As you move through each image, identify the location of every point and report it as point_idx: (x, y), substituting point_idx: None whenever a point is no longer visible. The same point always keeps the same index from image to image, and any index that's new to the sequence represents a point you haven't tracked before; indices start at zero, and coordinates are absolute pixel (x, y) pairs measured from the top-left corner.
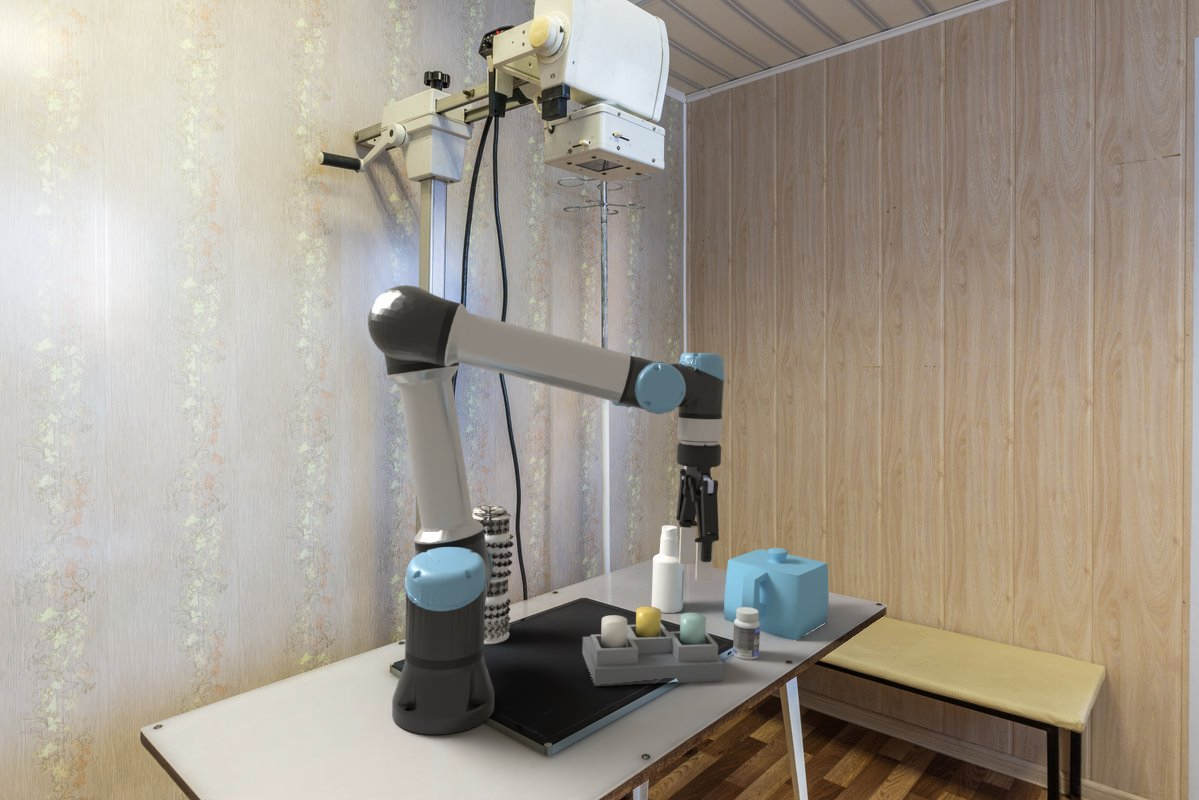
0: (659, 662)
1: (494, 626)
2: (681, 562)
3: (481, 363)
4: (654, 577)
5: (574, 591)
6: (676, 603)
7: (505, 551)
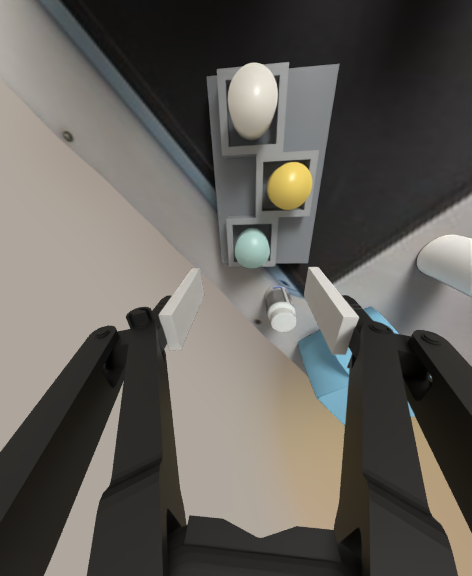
0: (226, 191)
1: None
2: (309, 271)
3: None
4: None
5: None
6: (425, 266)
7: None
